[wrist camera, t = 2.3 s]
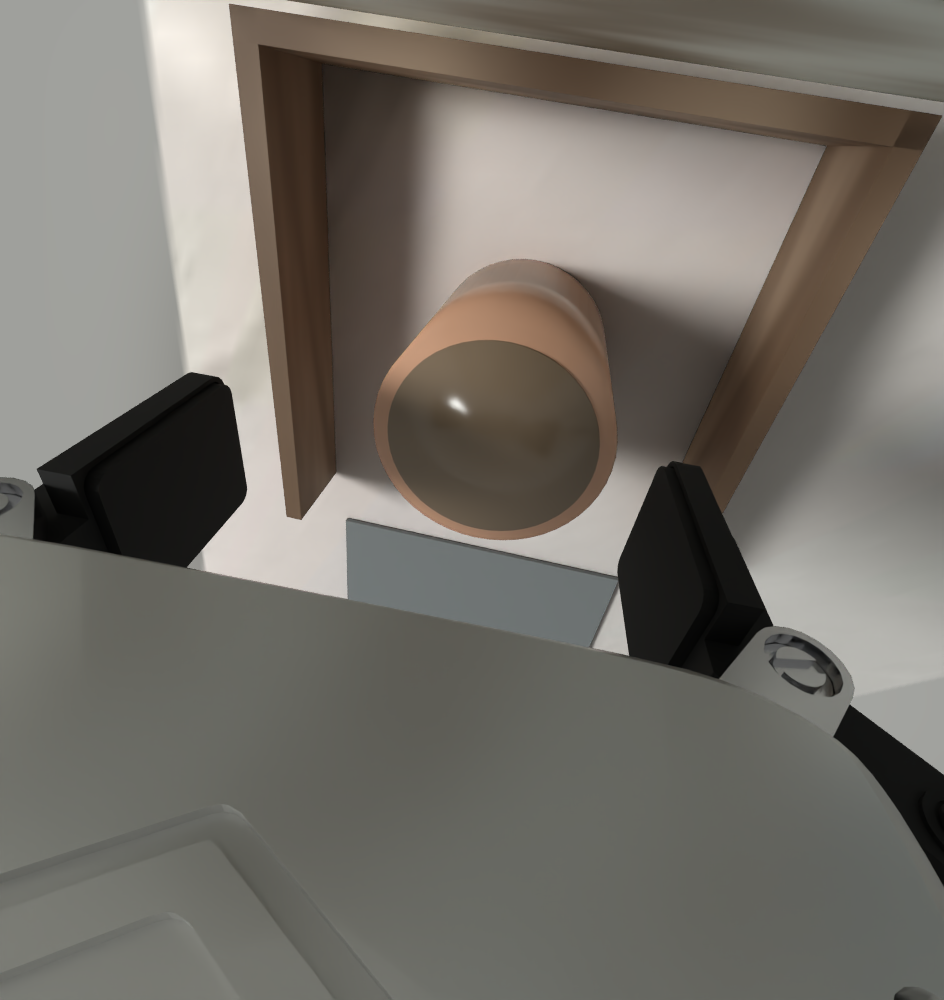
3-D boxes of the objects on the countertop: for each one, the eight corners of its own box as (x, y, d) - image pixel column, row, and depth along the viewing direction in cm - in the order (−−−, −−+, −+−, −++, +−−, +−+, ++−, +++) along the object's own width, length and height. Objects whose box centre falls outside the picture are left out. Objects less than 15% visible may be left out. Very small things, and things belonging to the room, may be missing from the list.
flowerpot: (628, 277, 16) (656, 352, 10) (580, 439, 20) (579, 562, 14) (445, 243, 16) (373, 298, 11) (430, 409, 20) (370, 516, 14)
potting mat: (618, 577, 23) (618, 580, 23) (569, 688, 28) (569, 691, 28) (347, 518, 24) (345, 520, 24) (349, 636, 29) (348, 639, 29)
